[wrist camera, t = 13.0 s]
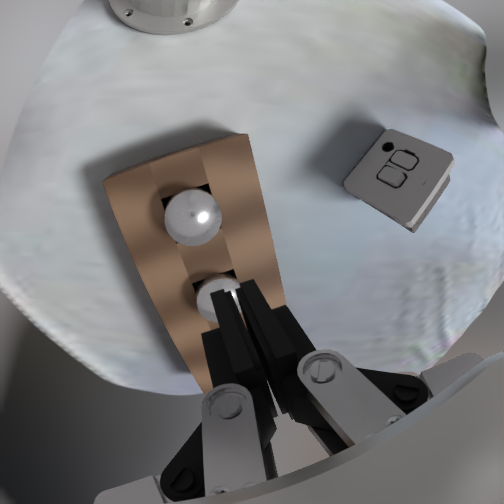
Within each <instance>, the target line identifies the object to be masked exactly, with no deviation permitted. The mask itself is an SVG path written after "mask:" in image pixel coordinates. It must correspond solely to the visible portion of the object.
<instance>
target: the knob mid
mask: <svg viewBox="0 0 504 504" xmlns="http://www.w3.org/2000/svg"><path fill="white" fill-rule="evenodd" d="M239 283H240V282H239V281H238V280H237V279H236V278H234V277H232V275H231V273H230V271H226V272H223V273H220V274H216V275H213V276H210V277H208V278H206V279H203V280H200V281H197V287H198V288H197V291H196V302H197V307H198V310H199V312H200V314H201V315H202V316H203V317H204V318H205V319H207V320H209V321H212V322H218V320H217V317H216V314H215V310H214V307H213V303H212V300H211V296H210V293H212V292H215V291H218V290H221V289H224V291H225V292H227V291H231V293H232V295H233V298H234V300H235V302H236V305H237V307H238V310H239V312H240V313H241V312H242V311H241V308H240V305H239V301H238V298H237V295H236V291H235V289H236V288H239V287H240V285H239Z"/></svg>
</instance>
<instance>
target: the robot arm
mask: <svg viewBox="0 0 504 504" xmlns="http://www.w3.org/2000/svg"><path fill="white" fill-rule="evenodd" d="M109 2H110V5H111V8H112V9H113V11H114V13H115V14H116V15H117V17H118V18H119V19H120V20H121V21H123V22H124V23H125V24H127V25H128V26H130V27H132V28H135V29H137V30H139V31H143V32H147V33H152V34H163V35H169V34H181V33H186V32H192V31H195V30H198V29H201V28H204V27H206V26H208V25H210V24H213V23H215V22H217V21H218V20H219V19H221V18H222V17H224V16H225V15H226V14H227V13H228V12H229V11H230V10H231V9H232V8H233V7H234V6H235V4H236V3H237V2H238V0H109ZM129 14H132V15H131V16H128V17H127V15H129ZM186 23H189V24H190V26H186V25H185V24H186ZM239 285H240V287H239V288H236V289H235V291H236V295H237V298H238V301H239V305H240V308H241V311H242V315H243V318H244V321H245V324H246V326H245V324H244V321H243V319H242V317H241V314H240V312H239V310H238V307H237V305H236V302H235V300H234V298H233V295H232V293H231V291H227V292H225V291H224V289H221V290H218V291H215V292H212V293H210V296H211V300H212V303H213V307H214V310H215V314H216V317H217V320H218V324H219V328H216V329H213V330H210V331H207V332H204V333H201V338H202V342H203V347H204V351H205V356H206V360H207V364H208V369H209V373H210V377H211V381H212V385H213V389H212V390H211V391H210V392H209V393H208V394H207V395H206V396H205V398H204V400H203V401H202V422H201V423H200V425H199V426H198V427H197V429H196V430H195V431H194V432H193V434H192V435H191V436H190V438H189V439H188V440H187V441H186V443H185V444H184V445H183V447H182V448H181V449H180V450H179V452H178V453H177V454H176V455H175V457H174V458H173V459H172V460H171V462H170V463H169V464H168V465H167V467H166V468H165V469H164V471H163V472H162V474H161V475H159V476H156V477H154V476H152V475H151V476H148V477H145V478H143V479H140V480H137V481H134V482H131V483H128V484H125V485H122V486H119V487H116V488H112V489H109V490H105V491H103V492H101V493H99V495H98V496H97V497H96V499H95V502H94V504H504V351H502V352H500V353H497V354H495V355H493V356H491V357H489V358H487V359H485V360H484V359H483V358H482V357H481V356H480V355H477V354H475V353H466V354H462V355H460V356H458V357H456V358H454V359H451V360H449V361H447V362H445V363H442V364H440V365H438V366H435V367H432V368H430V369H427V370H425V371H422V372H421V374H420V375H419V376H416V377H415V376H411V375H404V374H397V373H389V372H382V371H375V370H368V369H362V368H356V367H354V366H353V365H352V364H351V363H350V362H349V361H348V360H347V359H346V358H345V357H344V356H343V355H341V354H340V353H338V352H336V351H333V350H328V349H322V350H316V349H315V347H314V346H313V344H312V343H311V341H310V340H309V338H308V337H307V335H306V334H305V332H304V331H303V329H302V328H301V326H300V325H299V323H298V322H297V320H296V319H295V317H294V316H293V314H292V313H291V311H290V310H289V308H288V307H287V306H286V305H282V306H280V307H277V308H274V309H271V308H270V306H269V304H268V303H267V301H266V299H265V297H264V296H263V294H262V292H261V291H260V289H259V287H258V285H257V284H256V282H255V280H254V279H251V280H248V281H245V282H242V283H239ZM246 328H247V329H246ZM267 381H268V383H269V385H270V388H271V389H272V392H273V394H274V397H275V399H276V401H277V403H278V405H279V408H280V410H281V412H282V414H285V413H289V415H290V417H291V419H294V420H295V422H298V423H302V424H305V425H307V427H308V429H309V431H310V432H311V433H312V434H313V436H314V437H315V438H316V439H317V441H318V442H319V443H320V445H321V446H322V447H323V448H324V450H325V451H326V452H327V453H328V455H329V456H330V457H328V458H326V459H324V460H322V461H319V462H317V463H314V464H312V465H310V466H307V467H305V468H302V469H299V470H297V471H294V472H292V473H289V474H286V475H283V476H280V477H278V473H277V468H276V463H275V459H274V454H273V449H272V444H271V441H270V440H271V438H272V436H273V435H274V433H275V431H276V429H277V428H276V425H275V422H274V419H273V418H274V417H277V416H278V415H277V411H276V408H275V405H274V402H273V399H272V395H271V392H270V389H269V386H268V383H267Z"/></svg>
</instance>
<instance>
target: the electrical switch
mask: <svg viewBox="0 0 504 504" xmlns="http://www.w3.org/2000/svg"><path fill="white" fill-rule="evenodd" d="M454 165H455V161H454V158H453V156H452V154H451V153H449V152H447V151H445V150H443V149H441V148H438V147H436V146H434V145H431V144H429V143H427V142H424V141H422V140H419V139H417V138H414V137H412V136H409V135H407V134H404V133H401V132H398V131H396V130H393V129H389V130H386V131H384V133H383V134H382V135H381V136H380V138H379V139H378V140H377V141H376V143H375V144H374V145H373V146H372V148H371V149H370V150H369V151H368V152H367V154H366V155H365V156H364V157H363V159H362V160H361V161H360V162H359V163H358V165H357V166H356V167H355V168H354V170H353V171H352V172H351V173H350V174H349V176H348V177H347V178H346V179H345V180H344V187H345V189H346V190H347V191H348V192H349V193H350V194H352V195H354V196H356V197H358V198H360V199H362V201H364V202H365V203H367V204H369V205H370V206H372V207H373V208H375V209H377V210H378V211H380V212H381V213H383V214H385V215H386V216H388V217H389V218H391V219H392V220H394V221H396V222H397V223H399V224H400V225H402V226H403V227H405V228H406V229H408V230H409V231H411V232H412V231H413V232H412V233H415V231H416V230H417V229H418V227H419V226H420V224H421V223H422V222H423V220H424V219H425V218H426V216H427V215H428V213H429V212H430V210H431V209H432V208H433V206H434V205H435V203H436V202H437V200H438V199H439V197H440V196H441V194H442V193H443V191H444V190H445V188H446V187H447V185H448V184H449V182H450V176H449V173H450V171H451V170H452V168H453V167H454Z"/></svg>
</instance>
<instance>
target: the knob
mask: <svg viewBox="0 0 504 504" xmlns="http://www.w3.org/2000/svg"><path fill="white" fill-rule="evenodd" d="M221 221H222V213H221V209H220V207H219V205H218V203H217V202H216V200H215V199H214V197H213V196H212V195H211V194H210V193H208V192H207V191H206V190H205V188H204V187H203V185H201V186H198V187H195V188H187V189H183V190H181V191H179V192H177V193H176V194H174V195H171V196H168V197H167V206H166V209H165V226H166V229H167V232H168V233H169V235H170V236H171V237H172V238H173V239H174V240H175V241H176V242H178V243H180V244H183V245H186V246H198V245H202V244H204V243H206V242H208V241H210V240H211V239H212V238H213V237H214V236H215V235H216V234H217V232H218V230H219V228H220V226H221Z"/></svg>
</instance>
